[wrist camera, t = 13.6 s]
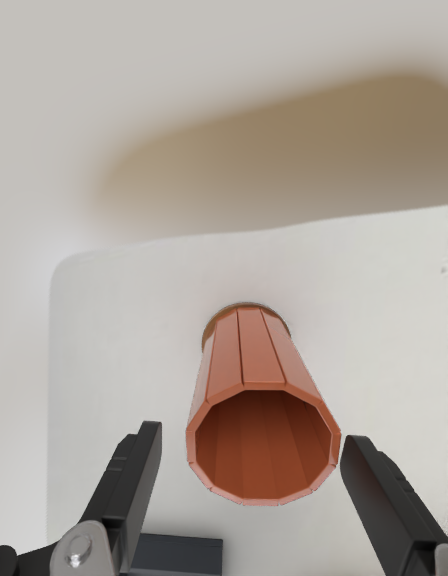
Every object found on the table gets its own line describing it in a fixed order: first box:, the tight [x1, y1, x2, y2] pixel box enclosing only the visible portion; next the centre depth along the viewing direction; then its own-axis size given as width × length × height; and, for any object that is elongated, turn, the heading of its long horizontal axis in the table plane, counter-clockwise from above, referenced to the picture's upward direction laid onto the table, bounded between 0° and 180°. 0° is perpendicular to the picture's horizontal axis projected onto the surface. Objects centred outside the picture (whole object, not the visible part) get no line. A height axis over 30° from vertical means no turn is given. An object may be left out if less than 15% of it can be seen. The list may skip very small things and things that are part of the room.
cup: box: [186, 308, 341, 506], centre depth 14 cm, size 6×6×9 cm
